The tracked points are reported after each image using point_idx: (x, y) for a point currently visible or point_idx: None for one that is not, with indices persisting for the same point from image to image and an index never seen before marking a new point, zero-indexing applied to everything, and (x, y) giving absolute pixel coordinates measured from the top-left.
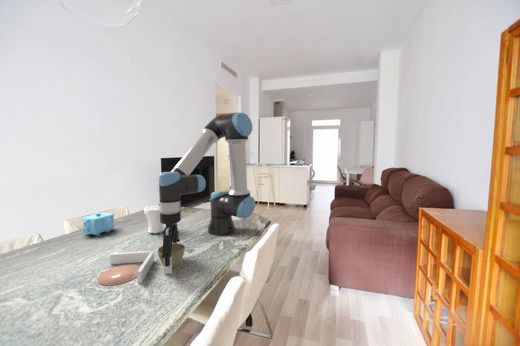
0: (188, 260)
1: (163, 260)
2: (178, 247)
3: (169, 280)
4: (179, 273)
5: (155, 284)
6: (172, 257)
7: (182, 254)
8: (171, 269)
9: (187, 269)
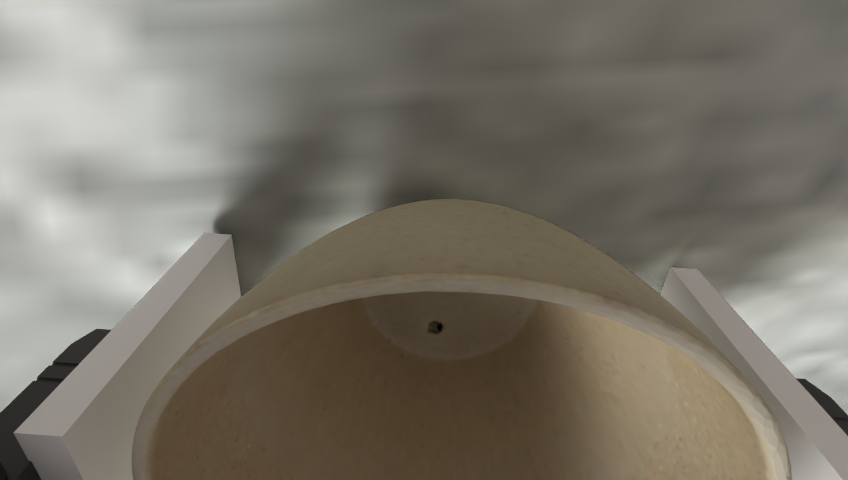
0: (320, 61)
1: (600, 468)
2: (217, 358)
3: (839, 275)
4: (723, 174)
5: (829, 385)
6: (707, 416)
7: (579, 241)
8: (725, 306)
9: (654, 61)
